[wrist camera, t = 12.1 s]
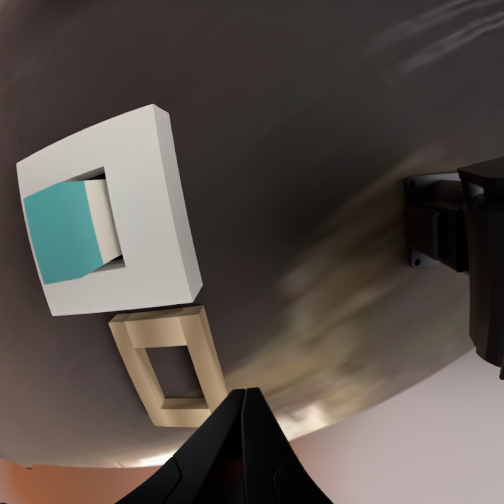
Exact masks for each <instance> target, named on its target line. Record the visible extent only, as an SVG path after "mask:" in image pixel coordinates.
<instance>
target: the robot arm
mask: <svg viewBox="0 0 504 504" xmlns="http://www.w3.org/2000/svg"><path fill="white" fill-rule="evenodd" d="M457 170H458V173H446V174H433V175H422V176H411V177H407V178H406V179H405V180H404V191H405V201H406V207H405V209H404V215H405V228H406V243H407V245H408V246H409V263H410V266H411V267H413V268H414V269H419V268H424V267H429V266H433V265H438V264H442V263H443V264H445V265H446V266H448V267H450V268H452V269H453V270H455V271H457V272H463V273H465V274H466V275H468V276H469V283H470V317H469V335H470V337H471V339H472V341H473V343H474V345H475V346H476V353H477V354H478V355H479V356H480V357H481V358H483V359H484V360H485V361H487V362H489V363H491V364H493V365H495V366H497V367H501V370H500V375H499V378H500V379H501V380H504V157H501V158H497V159H493V160H489V161H485V162H481V163H477V164H473V165H469V166H466V167H462V168H458V169H457ZM410 181H412V182H413V186H412V187H410V185H409V182H410ZM416 259H418V262H417V263H416V264H415V263H414V262H415V260H416ZM0 504H6V503H0ZM115 504H333V502H332V501H331V500H330V499H329V498H328V497H327V496H326V495H325V494H324V493H323V492H322V491H321V489H320V488H319V487H318V486H317V485H316V484H315V482H314V481H313V480H312V479H311V477H310V476H309V475H308V473H307V472H306V470H305V469H304V467H303V466H302V464H301V463H300V461H299V459H298V458H297V456H296V454H295V453H294V451H293V449H292V447H291V446H290V444H289V442H288V440H287V438H286V437H285V435H284V433H283V431H282V429H281V428H280V426H279V424H278V422H277V420H276V418H275V417H274V415H273V413H272V411H271V409H270V407H269V405H268V403H267V402H266V400H265V398H264V396H263V394H262V392H261V390H260V388H258V387H255V388H247V389H246V390H245V389H234V390H232V391H231V392H230V393H229V394H228V395H227V396H226V398H225V399H224V400H223V401H222V402H221V403H220V405H219V406H218V407H217V408H216V409H215V410H214V411H213V412H212V414H211V415H210V416H209V417H208V418H207V419H206V420H205V421H204V423H203V424H202V425H201V426H200V427H199V428H198V429H197V430H196V431H195V432H194V434H193V435H192V436H191V437H190V438H189V439H188V440H187V441H186V442H185V443H184V444H183V445H182V446H181V447H180V448H179V450H178V451H177V452H176V453H175V454H174V455H173V457H171V458H170V459H169V460H168V461H167V462H166V463H165V464H164V465H163V466H162V467H161V468H160V469H159V470H158V471H157V472H155V474H154V475H152V476H151V477H150V478H149V479H147V480H146V481H145V482H143V483H142V484H141V485H140V486H138V487H137V488H136V489H134V490H133V491H132V492H130V493H129V494H127V495H126V496H125V497H123V498H122V499H120V500H119V501H118V502H116V503H115Z"/></svg>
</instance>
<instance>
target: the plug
mask: <svg viewBox="0 0 504 504" xmlns="http://www.w3.org/2000/svg"><path fill="white" fill-rule="evenodd" d="M23 200H24V206H25V211H26V216H27V221H28V226H29V230H30V235H31V239H32V243H33V247H34V251H35V254H36V258H37V261H38V265H39V268H40V272H41V275H42V278H43V281H44V284H45V285H46V284H52V283H57V282H62V281H68V280H73V279H78V278H82V277H83V276H85V275H87V274H88V273H90V272H92V271H94V270H95V269H97V268H99V267H100V266H102V265H104V264H105V263H107V262H109V261H111V260H112V259H114V258H116V257H118V256H119V255H121V254H122V251H121V247H120V242H119V238H118V234H117V230H116V226H115V221H114V216H113V212H112V207H111V202H110V197H109V192H108V186H107V181H106V179H104V180H88V181H74V182H61V183H56V184H54V185H52V186H50V187H47V188H45V189H43V190H41V191H39V192H36V193H34V194H32V195H30V196H28V197H26V198H24V199H23Z"/></svg>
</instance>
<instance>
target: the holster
mask: <svg viewBox="0 0 504 504" xmlns="http://www.w3.org/2000/svg"><path fill="white" fill-rule="evenodd" d="M109 326H110V329H111V331H112V334H113V336H114V339H115V342H116V344H117V347H118V349H119V352H120V354H121V356H122V359H123V361H124V363H125V366H126V368H127V370H128V373H129V375H130V377H131V379H132V381H133V384H134V386H135V388H136V390H137V392H138V394H139V396H140V398H141V400H142V402H143V404H144V406H145V408H146V410H147V412H148V414H149V416H150V418H151V420H152V422H153V423H154V425H155V426H167V427H200V426H201V425H202V424H203V423H204V421H205V420H206V419H207V418H208V417H209V416H210V415H211V414H212V412H213V411H214V410H215V409H216V408H217V407H218V406H219V405H220V403H221V402H222V401H223V400H224V399H225V398H226V396H227V395H228V391H227V387H226V384H225V381H224V377H223V374H222V371H221V367H220V364H219V360H218V357H217V353H216V350H215V346H214V343H213V339H212V335H211V332H210V328H209V324H208V320H207V317H206V313H205V309H204V305H201V306H193V307H184V308H176V309H167V310H158V311H148V312H138V313H128V314H117V315H116V316H115V317H114V318H113V319H112V320H111V321H110V322H109ZM182 345H187V346H188V349H189V352H190V355H191V358H192V361H193V364H194V367H195V370H196V373H197V376H198V379H199V382H200V385H201V388H202V390H203V393H204V396H205V398H165V396H164V394H163V392H162V390H161V387H160V385H159V383H158V380H157V378H156V375H155V373H154V371H153V368H152V366H151V363H150V361H149V358H148V356H147V353H146V350H145V348H150V347H168V346H182Z"/></svg>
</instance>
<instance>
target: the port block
mask: <svg viewBox="0 0 504 504" xmlns="http://www.w3.org/2000/svg"><path fill="white" fill-rule="evenodd" d="M16 165H17V174H18V182H19V189H20V196H21V202H22V208H23V213H24V218H25V223H26V228H27V232H28V237H29V241H30V245H31V249H32V253H33V257H34V261H35V264H36V268H37V271H38V275H39V278H40V281H41V284H42V287H43V290H44V293H45V296H46V299H47V302H48V305H49V308H50V311H51V313H52V316H60V315H73V314H86V313H98V312H109V311H119V310H129V309H139V308H148V307H157V306H166V305H175V304H183V303H191V302H193V301H194V299H195V298H196V296H197V294H198V292H199V291H200V289H201V287H202V286H203V284H202V280H201V275H200V271H199V267H198V263H197V258H196V254H195V249H194V245H193V240H192V236H191V231H190V226H189V221H188V217H187V212H186V207H185V202H184V197H183V192H182V186H181V181H180V176H179V170H178V165H177V159H176V154H175V148H174V142H173V136H172V130H171V124H170V117H169V113H167V112H166V111H164V110H162V109H161V108H159V107H157V106H156V105H154V104H151V105H148V106H145V107H142V108H139V109H136V110H133V111H130V112H127V113H124V114H122V115H119V116H116V117H114V118H111V119H108V120H106V121H103V122H101V123H98V124H96V125H93V126H91V127H89V128H86V129H84V130H82V131H79V132H77V133H75V134H73V135H71V136H68V137H66V138H64V139H62V140H60V141H58V142H56V143H54V144H52V145H50V146H48V147H46V148H44V149H42V150H40V151H38V152H36V153H34V154H32V155H31V156H29V157H27V158H25V159H23V160H22V161H20V162H18V163H16ZM104 173H105V175H106V181H107V186H108V192H109V197H110V202H111V207H112V212H113V216H114V221H115V226H116V230H117V234H118V238H119V242H120V247H121V251H122V254H123V258H124V259H120V260H114V261H109V262H107V263H105V264H104V265H102V266H100V267H99V268H97V269H95V270H94V271H92V272H90V273H88V274H87V275H85V276H83V277H82V278H78V279H73V280H68V281H62V282H57V283H52V284H46V285H45V284H44V281H43V278H42V275H41V272H40V268H39V265H38V261H37V258H36V254H35V251H34V247H33V243H32V239H31V235H30V230H29V226H28V221H27V216H26V211H25V206H24V200H23V199H24V198H26V197H28V196H30V195H32V194H34V193H36V192H39V191H41V190H43V189H45V188H47V187H50V186H52V185H54V184H56V183H61V182H74V181H84V180H86V179H89V178H92V177H95V176H98V175H101V174H104Z"/></svg>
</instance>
